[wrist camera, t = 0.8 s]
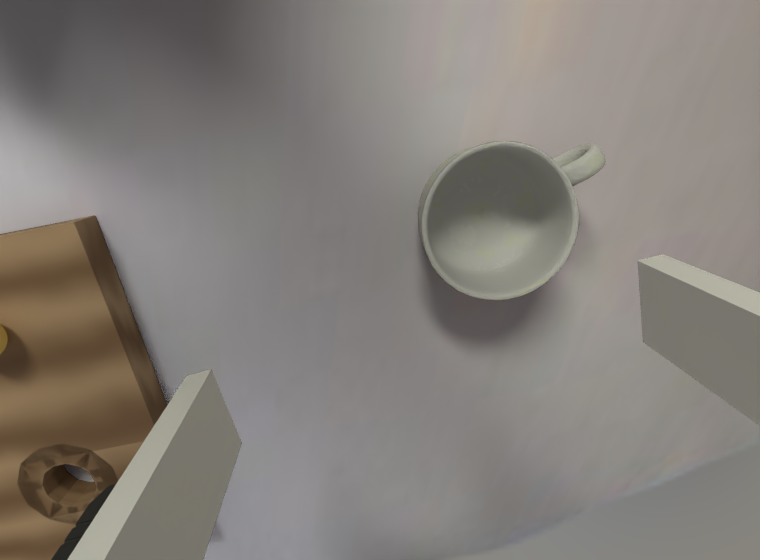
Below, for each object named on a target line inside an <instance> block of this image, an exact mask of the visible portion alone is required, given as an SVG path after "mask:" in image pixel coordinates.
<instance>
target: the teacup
mask: <svg viewBox="0 0 760 560" xmlns="http://www.w3.org/2000/svg"><path fill="white" fill-rule="evenodd" d="M604 165H605V155H604V153H603V151H602V149H601V148H600V147H599V146H598V145H596V144H592V143H591V144H585V145H581V146H579V147H576V148H574V149H572V150H569V151H567V152H565V153H563V154H561V155H559V156H557V157H555V158H553V159H552V158H551V157H549V156H548V155H547V154H546V153H544V152H543V151H541V150H538V149H537V148H535V147H533V146H530V145H527V144H523V143H520V142H513V141H497V142H489V143H486V144H482V145H479V146H476V147H473V148H470V149H467V150H464V151H462V152H460V153H458V154H456V155H454V156H452V157H451V158H449V159H448V160H446V161H445V162H444V163H443V164H442V165H440V166H439V167H438V169H437V170H436V171H435V172H434V173H433V174H432V176H431V177H430V179H429V180H428V182H427V184H426V185H425V188H424V190H423V192H422V195H421V198H420V202H419V208H418V227H419V233H420V237H421V240H422V243H423V245H424V249H425V252H426V254H427V257H428V259H429V261H430V263H431V264H432V266H433V268H434V269H435V271H436V272H437V273H438V275H439V276H440V277H441V278H442V279H443V280H444V281H445V282H446V283H447V284H448V285H450V286H451V287H453V288H454V289H455V290H457V291H459V292H461V293H463V294H466V295H469V296H471V297H475V298H479V299H485V300H507V299H512V298H517V297H520V296H523V295H525V294H527V293H530V292H532V291H534V290H536V289H538V288H540V287H541V286H542V285H543V284H545V283H547V281H548V280H549V279H551V278H552V277H553V276H554V275H555V274H556V273H557V272H558V271H559V269H561V267H562V266H563V265H564V263H565V262H566V260H567V259H568V257H569V255H570V253H571V250H572V248H573V246H574V244H575V240H576V237H577V233H578V226H579V211H578V204H577V199H576V196H575V192H574V189H573V186H574V185H576V184H578V183H580V182H582V181H584V180H586V179H588V178H590V177H592V176H593V175H595V174H596V173H597V172H599V171H600V170H601V169H602V167H603V166H604Z"/></svg>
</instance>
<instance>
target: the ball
mask: <svg viewBox="0 0 760 560" xmlns="http://www.w3.org/2000/svg"><path fill="white" fill-rule="evenodd" d="M7 341H8V337H7V333H6V331H5V329H4V328H3V327H2V326H1V325H0V354H1V353H2V352H3V351H4V349H5V348H6V345H7Z"/></svg>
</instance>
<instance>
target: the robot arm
mask: <svg viewBox="0 0 760 560" xmlns="http://www.w3.org/2000/svg"><path fill="white" fill-rule="evenodd" d="M638 275H639V290H640V306H641V321H642V336H643V342H644V343H645V344H646V345H648V346H649V347H651V348H652V349H653V350H655V351H656V352H658V353H659V354H660V355H662V356H663V357H665V358H666V359H667V360H669V361H670V362H671V363H673V364H674V365H676V366H677V367H678V368H680V369H681V370H683V371H684V372H685V373H687V374H688V375H690V376H691V377H692V378H694V379H695V380H696V381H698V382H699V383H701V384H702V385H703V386H705V387H706V388H708V389H709V390H710V391H712V392H713V393H715V394H716V395H717V396H719V397H720V398H722V399H723V400H724V401H726V402H727V403H728V404H730V405H731V406H733V407H734V408H735V409H737V410H738V411H740V412H741V413H742V414H744V415H745V416H747V417H748V418H749V419H751V420H752V421H753V422H755V423H756V424H758V425H759V426H760V293H759V292H756V291H754V290H751V289H749V288H746V287H744V286H741V285H739V284H736V283H734V282H731V281H729V280H726V279H724V278H721V277H719V276H716V275H714V274H711V273H709V272H706V271H704V270H701V269H699V268H696V267H693V266H691V265H688V264H686V263H683V262H681V261H678V260H676V259H673V258H671V257H668V256H666V255H663V254H662V255H658V256H654V257H650V258H646V259H642V260H638ZM241 444H242V442H241V440H240V438H239V435H238V433H237V430H236V428H235V425H234V423H233V421H232V418H231V416H230V413H229V411H228V409H227V406H226V404H225V401H224V399H223V397H222V394H221V392H220V389H219V387H218V384H217V382H216V380H215V377H214V375H213V372H212V370H207V371H203V372H199V373H195V374H191V375H187V376H186V377H185V379H184V380H183V382H182V383H181V385H180V387H179V388H178V390H177V391H176V393H175V394H174V396H173V397H172V399H171V400H170V402H169V404H168V405H167V407H166V408H165V410H164V411H163V413H162V414H161V416H160V417H159V419H158V421H157V422H156V424H155V425H154V427H153V428H152V430H151V431H150V433H149V434H148V436H147V438H146V439H145V441H144V442H143V444H142V445H141V447H140V448H139V450H138V451H137V453H136V455H135V456H134V458H133V459H132V461H131V462H130V464H129V465H128V467H127V468H126V470H125V471H124V473H123V475H122V476H121V478H120V479H119V481H118V482H117V483H116V484H112V485H109V486H108V487H107V488H106V489H105V490H103V491H102V492H101V493H100V494H99V495H98V496H97V497H96V498H95V499H94V500H93V501H92V502H91V503H90V504H89V505H88V506H87V508H86V509H85V511H84V512H83V514H82V515H81V517H80V518H79V520H78V521H77V523H76V527H74V528H72V530H71V531H70V533H69V534H68V536H67V537H66V539H65V540H64V541H65V542H64V544H62V545H61V546H60V547H59V549H58V550H57V552H56V553H55V555H54V556H53V558H52V559H51V560H203V559H204V556H205V553H206V550H207V547H208V544H209V541H210V538H211V535H212V532H213V529H214V526H215V523H216V520H217V517H218V514H219V511H220V508H221V505H222V502H223V499H224V496H225V492H226V489H227V486H228V483H229V480H230V477H231V474H232V471H233V468H234V465H235V462H236V459H237V456H238V453H239V450H240V447H241Z"/></svg>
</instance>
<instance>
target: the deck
mask: <svg viewBox="0 0 760 560" xmlns="http://www.w3.org/2000/svg"><path fill="white" fill-rule="evenodd" d="M0 325H1V326H2V327H3V328H4V329H5V331H6V333H7V337H8V341H7V345H6V348H5V349H4V351H3V352H2V353H1V354H0V560H51V559H52V558H53V556H54V555H55V553H56V552H57V550H58V549H59V547H60V546H61V545H62V544H64V542H65V541H64V540H65V539H66V537H67V536H68V534H69V533H70V531H71V530H72V528H74V527H76V523H77V521H78V520H79V518H80V517H81V515H82V514H83V512H84V511H85V509H86V508H87V506H88V505H89V504H90V503H91V502H92V501H93V500H94V499H95V498H96V497H97V496H98V495H99V494H100V493H101V492H102V491H103V490H105V489H106V488H107V487H108V486H109V485H112V484H116V483H117V482H118V481H119V479H120V478H121V476H122V475H123V473H124V471H125V470H126V468H127V467H128V465H129V464H130V462H131V461H132V459H133V458H134V456H135V455H136V453H137V451H138V450H139V448H140V447H141V445H142V444H143V442H144V441H145V439H146V438H147V436H148V434H149V433H150V431H151V430H152V428H153V427H154V425H155V424H156V422H157V421H158V419H159V417H160V416H161V414H162V413H163V411H164V410H165V408H166V407H167V403H166V401H165V398H164V395H163V393H162V390H161V387H160V385H159V382H158V379H157V377H156V374H155V372H154V369H153V366H152V364H151V361H150V358H149V356H148V353H147V350H146V348H145V345H144V343H143V340H142V337H141V335H140V332H139V329H138V327H137V324H136V321H135V319H134V316H133V314H132V311H131V308H130V306H129V303H128V300H127V298H126V295H125V292H124V290H123V287H122V285H121V282H120V279H119V277H118V274H117V271H116V269H115V266H114V264H113V261H112V258H111V256H110V253H109V250H108V248H107V245H106V242H105V240H104V237H103V235H102V232H101V229H100V227H99V224H98V221H97V219H96V216H91V217H85V218H80V219H75V220H70V221H65V222H60V223H55V224H50V225H45V226H40V227H34V228H29V229H24V230H19V231H14V232H9V233H4V234H0ZM64 464H69V465H74V466H78V467H81V468H82V469H84V470H85V471H87V472H88V473H89V474H91V475H92V477H93V479H94V481H95V482H86V481H82V480H78V479H76V478H75V477H73V476H72V475H71V474H69V473H68V472H67V470H66V468H65V466H64Z"/></svg>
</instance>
